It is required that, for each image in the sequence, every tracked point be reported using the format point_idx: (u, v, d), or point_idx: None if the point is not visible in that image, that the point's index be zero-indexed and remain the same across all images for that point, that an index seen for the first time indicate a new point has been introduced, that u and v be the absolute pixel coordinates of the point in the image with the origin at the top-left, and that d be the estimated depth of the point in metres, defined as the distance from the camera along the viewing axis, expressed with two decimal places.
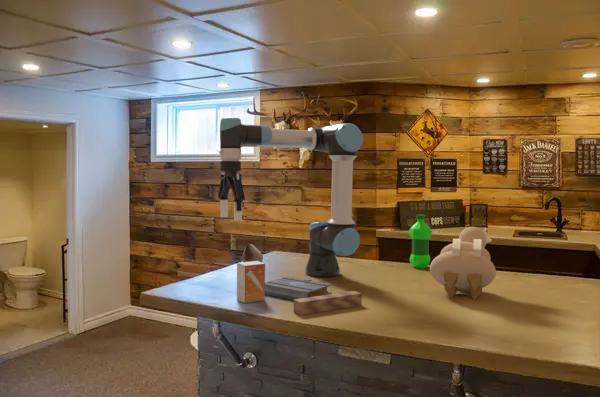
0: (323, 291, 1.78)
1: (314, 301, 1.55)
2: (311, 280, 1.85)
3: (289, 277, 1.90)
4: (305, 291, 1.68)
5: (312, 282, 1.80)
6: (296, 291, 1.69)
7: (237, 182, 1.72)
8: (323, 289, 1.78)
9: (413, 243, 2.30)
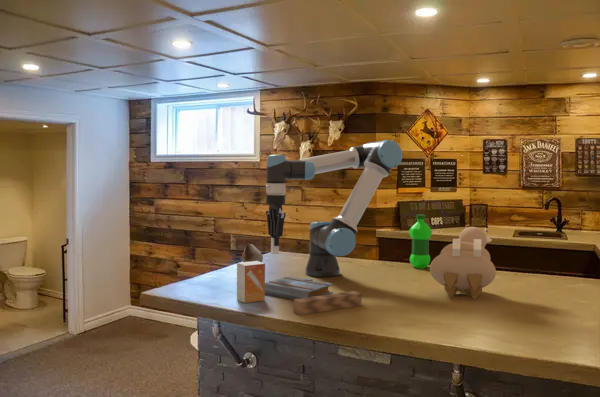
0: (324, 291, 1.78)
1: (314, 301, 1.55)
2: (312, 280, 1.86)
3: (290, 277, 1.90)
4: (306, 291, 1.68)
5: (313, 282, 1.81)
6: (297, 291, 1.70)
7: (280, 221, 1.88)
8: (324, 289, 1.79)
9: (413, 243, 2.30)
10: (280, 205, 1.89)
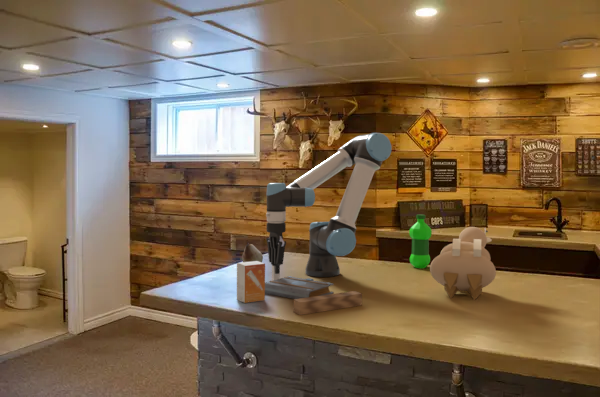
0: (325, 290, 1.79)
1: (314, 301, 1.55)
2: None
3: (291, 277, 1.91)
4: (307, 290, 1.69)
5: (314, 281, 1.81)
6: (298, 290, 1.70)
7: (280, 249, 1.88)
8: (325, 288, 1.79)
9: (413, 243, 2.30)
10: (280, 233, 1.89)
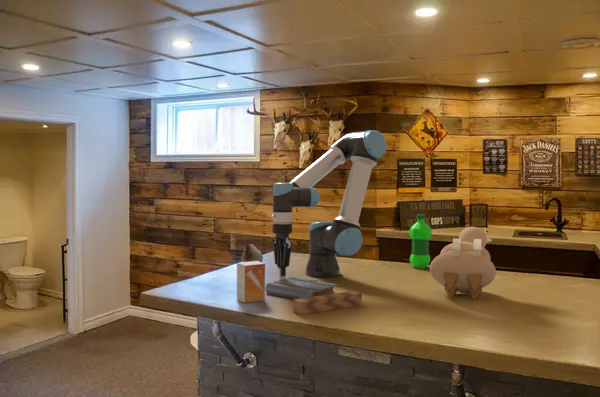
0: (329, 291, 1.78)
1: (314, 301, 1.55)
2: (317, 280, 1.85)
3: (295, 277, 1.90)
4: (310, 291, 1.68)
5: (318, 282, 1.80)
6: (301, 291, 1.69)
7: (287, 251, 1.83)
8: (329, 289, 1.78)
9: (413, 243, 2.30)
10: (287, 234, 1.84)
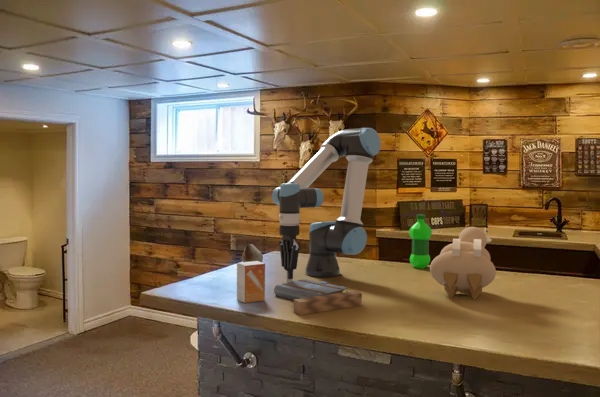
0: None
1: (314, 301, 1.55)
2: (327, 283, 1.80)
3: (306, 279, 1.86)
4: (318, 294, 1.63)
5: (328, 285, 1.76)
6: (309, 294, 1.65)
7: (294, 253, 1.78)
8: (338, 292, 1.73)
9: (413, 243, 2.30)
10: (294, 236, 1.79)
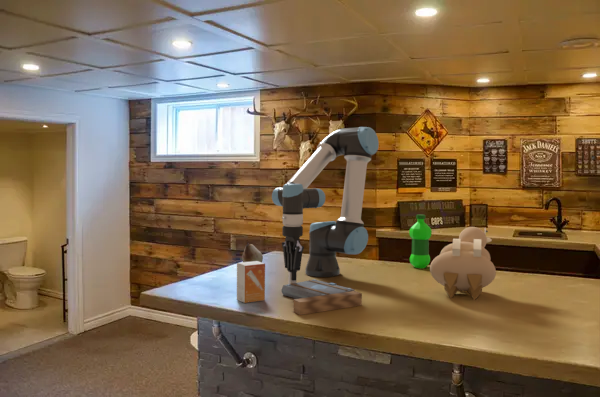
0: None
1: (314, 301, 1.55)
2: (336, 284, 1.79)
3: (316, 280, 1.85)
4: (321, 295, 1.63)
5: (335, 286, 1.74)
6: (313, 295, 1.65)
7: (298, 254, 1.76)
8: None
9: (413, 243, 2.30)
10: (298, 237, 1.77)
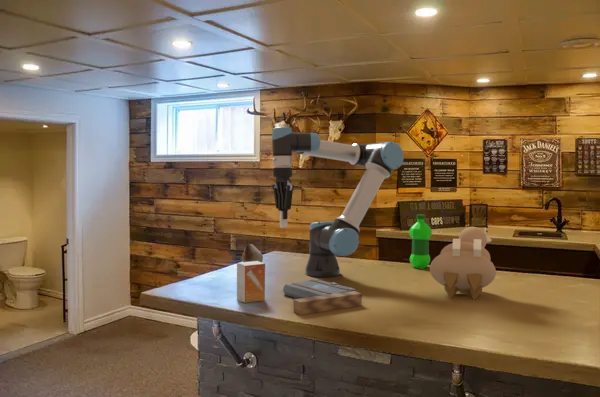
0: None
1: (314, 301, 1.55)
2: (337, 284, 1.79)
3: (317, 280, 1.86)
4: None
5: (336, 286, 1.74)
6: (314, 294, 1.65)
7: (288, 193, 1.86)
8: None
9: (413, 243, 2.30)
10: (288, 177, 1.87)
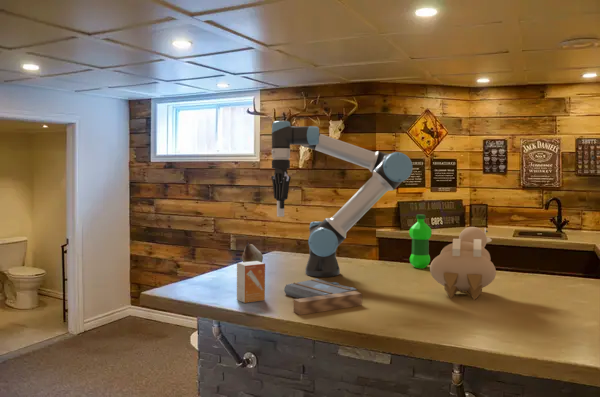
0: None
1: (314, 301, 1.55)
2: (338, 284, 1.79)
3: (318, 279, 1.86)
4: (324, 294, 1.63)
5: (337, 286, 1.75)
6: (316, 294, 1.65)
7: (285, 184, 1.96)
8: None
9: (413, 243, 2.30)
10: (285, 169, 1.98)
